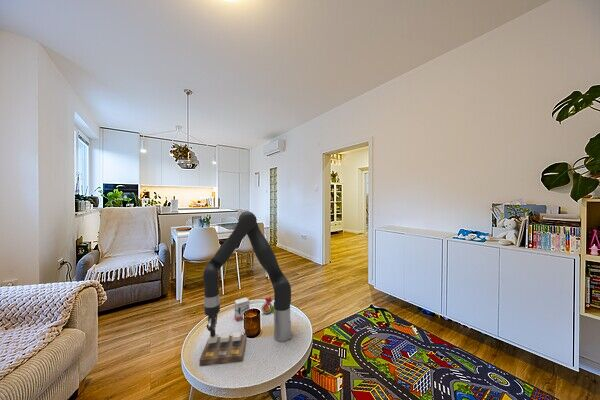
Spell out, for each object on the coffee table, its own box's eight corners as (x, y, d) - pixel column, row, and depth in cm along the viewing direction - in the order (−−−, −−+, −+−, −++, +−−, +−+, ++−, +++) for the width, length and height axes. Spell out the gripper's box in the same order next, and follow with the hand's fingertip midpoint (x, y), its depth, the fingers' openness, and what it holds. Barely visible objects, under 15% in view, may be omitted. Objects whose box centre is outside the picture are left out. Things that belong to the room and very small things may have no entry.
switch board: (246, 339, 125) (246, 333, 125) (242, 361, 110) (242, 355, 109) (208, 343, 123) (208, 337, 123) (199, 366, 107) (199, 359, 107)
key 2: (241, 335, 121) (241, 331, 121) (240, 340, 117) (240, 336, 117) (233, 336, 120) (233, 332, 120) (232, 341, 116) (232, 337, 116)
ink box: (237, 321, 142) (236, 303, 142) (234, 318, 146) (234, 300, 146) (250, 317, 147) (249, 299, 146) (247, 314, 151) (246, 296, 150)
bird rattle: (267, 319, 148) (278, 310, 152) (260, 306, 145) (272, 297, 149) (264, 315, 153) (275, 306, 157) (257, 302, 151) (269, 293, 155)
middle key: (229, 336, 120) (229, 332, 120) (228, 341, 116) (228, 337, 116) (222, 337, 120) (222, 333, 120) (220, 342, 116) (220, 338, 116)
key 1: (218, 337, 119) (218, 333, 119) (216, 342, 116) (216, 338, 115) (210, 338, 119) (210, 334, 119) (208, 343, 115) (208, 339, 115)
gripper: (216, 309, 110) (217, 343, 111) (222, 296, 123) (223, 327, 124) (200, 310, 109) (201, 345, 110) (208, 297, 122) (208, 328, 123)
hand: (212, 335), depth 117 cm, fingers closed
